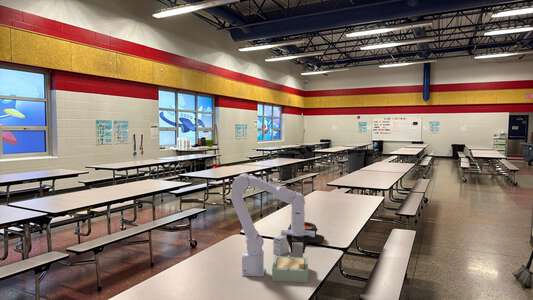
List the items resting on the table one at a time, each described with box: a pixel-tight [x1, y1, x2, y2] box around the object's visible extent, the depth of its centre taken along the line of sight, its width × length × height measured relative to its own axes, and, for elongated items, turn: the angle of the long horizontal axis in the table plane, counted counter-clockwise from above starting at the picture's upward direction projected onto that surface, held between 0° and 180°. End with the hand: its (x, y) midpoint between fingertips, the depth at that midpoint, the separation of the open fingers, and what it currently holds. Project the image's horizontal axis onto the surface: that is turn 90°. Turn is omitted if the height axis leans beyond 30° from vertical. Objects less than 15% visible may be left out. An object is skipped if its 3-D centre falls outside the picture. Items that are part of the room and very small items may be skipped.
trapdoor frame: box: [271, 255, 309, 284], centre depth 142 cm, size 15×14×6 cm
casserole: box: [287, 221, 325, 243], centre depth 187 cm, size 25×19×8 cm
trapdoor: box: [276, 258, 305, 269], centre depth 142 cm, size 12×11×3 cm
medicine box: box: [272, 234, 290, 256], centre depth 166 cm, size 8×4×9 cm, turn 141°
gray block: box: [291, 241, 304, 258], centre depth 141 cm, size 4×4×5 cm
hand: (297, 252), depth 141 cm, fingers closed on gray block, 4 cm apart
